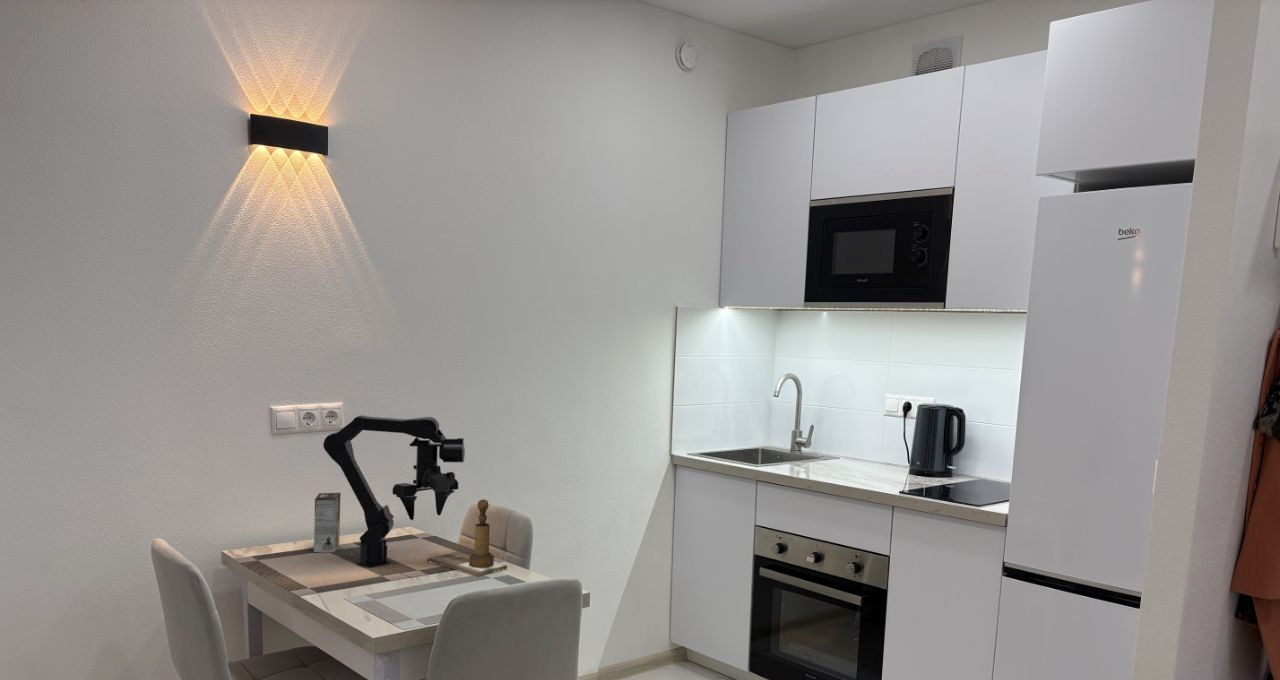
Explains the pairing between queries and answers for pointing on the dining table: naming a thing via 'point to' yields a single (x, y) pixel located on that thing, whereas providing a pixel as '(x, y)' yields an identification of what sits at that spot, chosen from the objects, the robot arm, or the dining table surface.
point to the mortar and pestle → (482, 540)
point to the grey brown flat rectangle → (464, 563)
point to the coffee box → (327, 522)
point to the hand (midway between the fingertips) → (425, 517)
